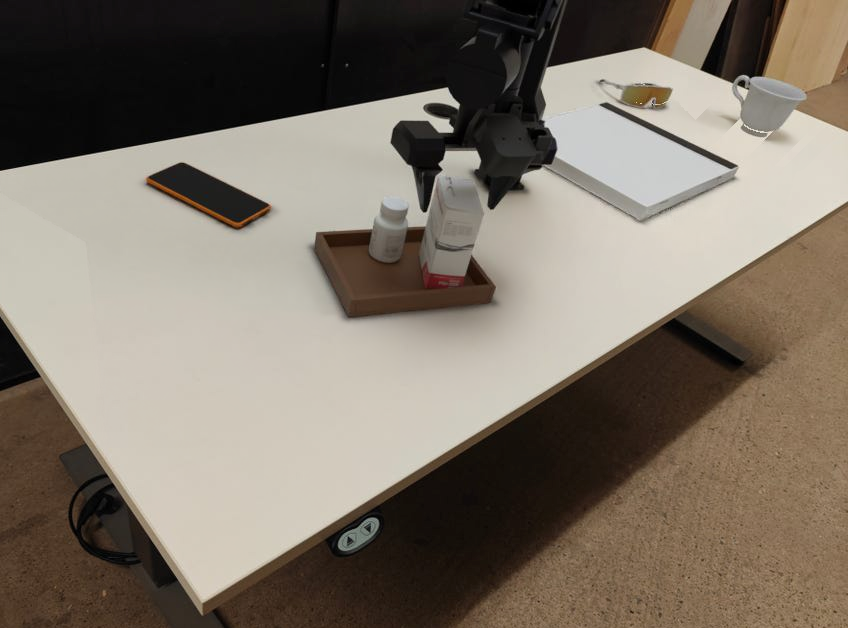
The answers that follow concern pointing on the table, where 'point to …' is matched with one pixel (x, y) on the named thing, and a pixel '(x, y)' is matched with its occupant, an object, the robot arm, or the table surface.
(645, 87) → the sunglasses
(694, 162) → the white flat slab
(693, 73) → the table surface
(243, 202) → the smartphone
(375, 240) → the pill bottle
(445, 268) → the ink box
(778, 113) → the teacup
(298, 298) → the table surface
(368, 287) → the tray
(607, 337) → the table surface
